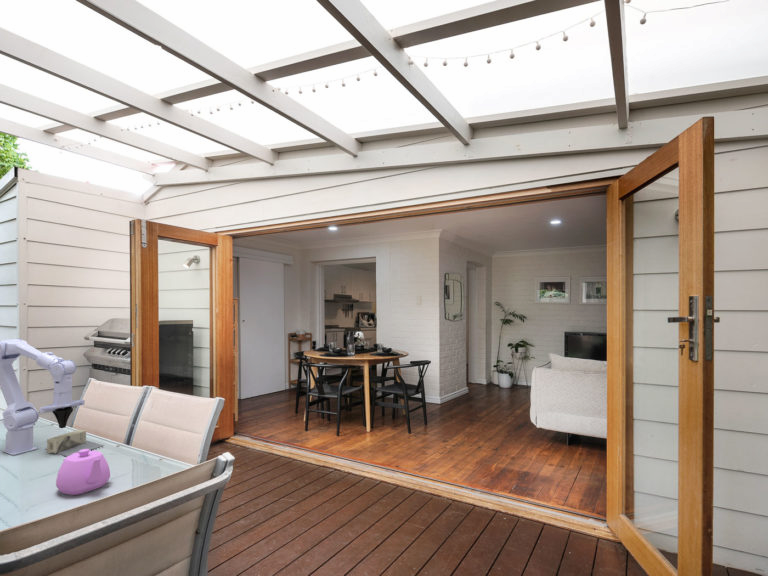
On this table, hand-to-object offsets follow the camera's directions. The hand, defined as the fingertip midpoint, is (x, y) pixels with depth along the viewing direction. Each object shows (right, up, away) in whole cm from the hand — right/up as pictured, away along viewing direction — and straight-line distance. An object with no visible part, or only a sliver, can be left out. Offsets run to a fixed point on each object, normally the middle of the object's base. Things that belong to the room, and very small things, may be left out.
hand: (62, 427), depth 164 cm
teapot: (+32, -8, -33) cm, 47 cm away
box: (-2, -6, -3) cm, 7 cm away
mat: (+2, -10, +4) cm, 10 cm away
